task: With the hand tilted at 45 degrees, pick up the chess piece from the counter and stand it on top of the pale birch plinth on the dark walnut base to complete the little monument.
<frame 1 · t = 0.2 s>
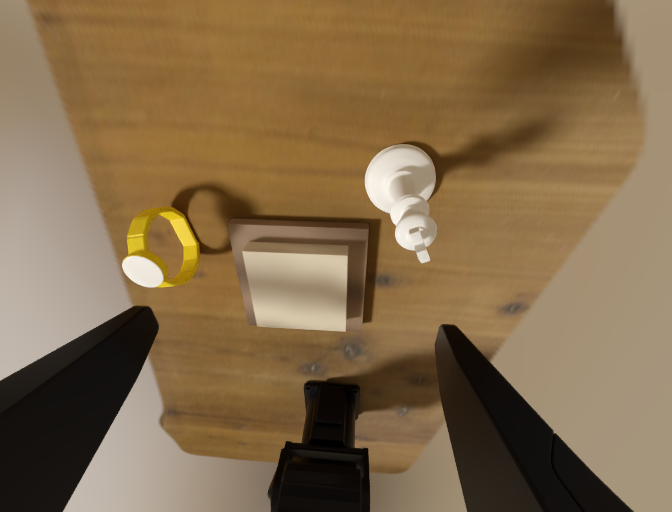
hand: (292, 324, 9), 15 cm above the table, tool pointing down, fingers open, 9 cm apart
chess piece: (399, 178, 22), on the table
watch: (186, 229, 25), on the table
build base: (303, 276, 27), on the table
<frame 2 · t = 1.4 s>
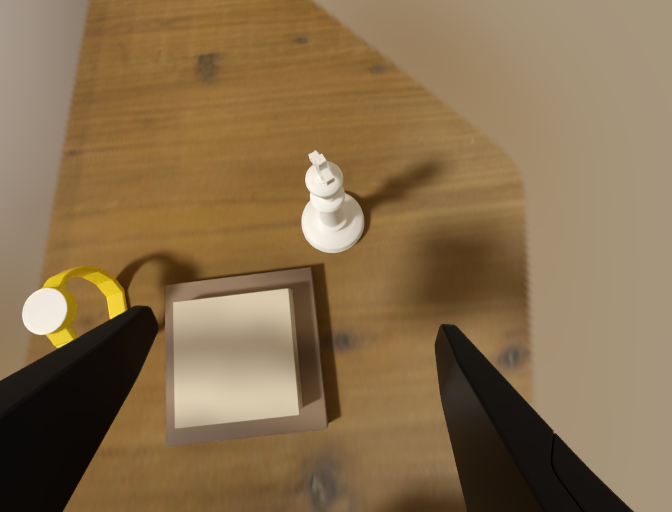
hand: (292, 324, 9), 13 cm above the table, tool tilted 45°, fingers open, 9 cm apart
chess piece: (333, 223, 24), on the table
watch: (121, 310, 23), on the table
build base: (246, 351, 22), on the table
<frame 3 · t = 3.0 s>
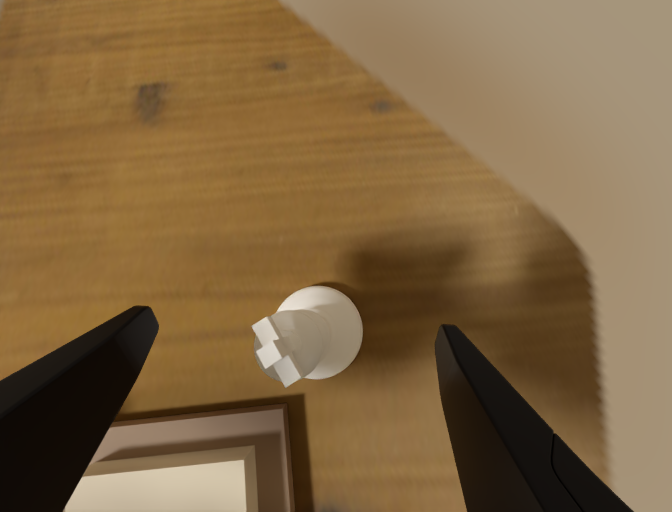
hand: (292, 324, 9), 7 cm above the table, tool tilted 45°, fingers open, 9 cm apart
chess piece: (318, 330, 17), on the table
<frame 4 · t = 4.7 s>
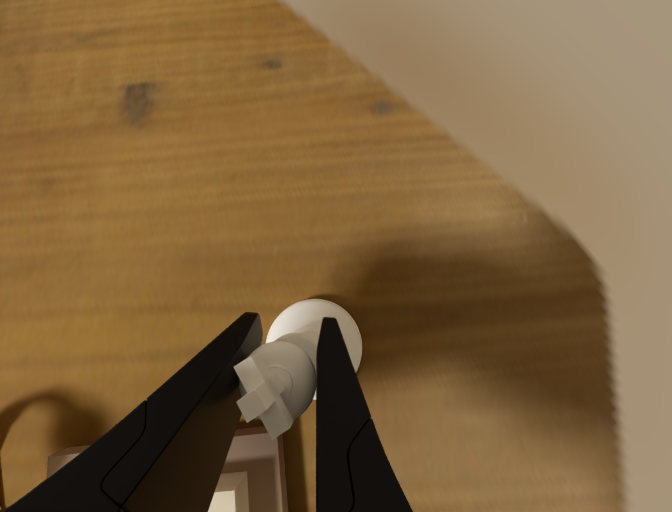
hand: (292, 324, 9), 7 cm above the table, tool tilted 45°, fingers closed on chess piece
chess piece: (314, 346, 16), on the table, touching gripper
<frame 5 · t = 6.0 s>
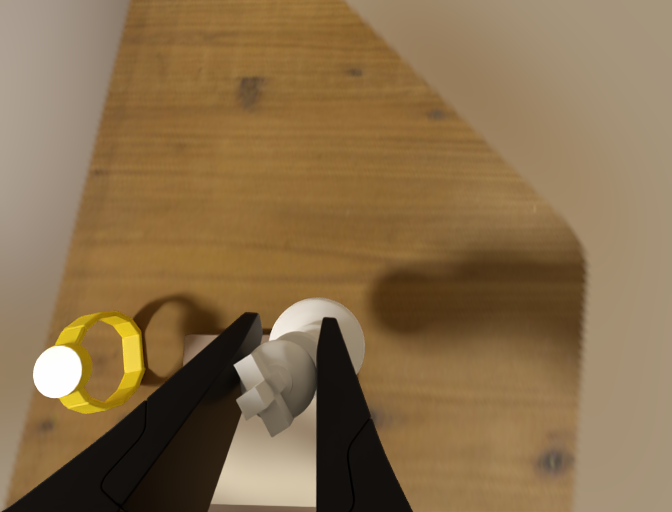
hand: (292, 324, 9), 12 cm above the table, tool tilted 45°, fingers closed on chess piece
chess piece: (317, 345, 16), point 6 cm above the table, touching gripper
watch: (136, 352, 22), on the table
build base: (264, 416, 21), on the table
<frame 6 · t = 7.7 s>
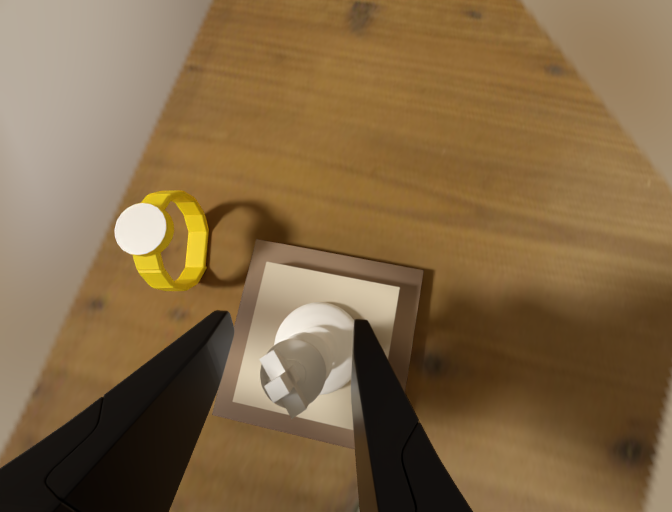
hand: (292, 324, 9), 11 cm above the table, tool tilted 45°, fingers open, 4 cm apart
chess piece: (319, 346, 17), point 2 cm above the table, touching build base
watch: (199, 250, 21), on the table
build base: (322, 339, 19), on the table
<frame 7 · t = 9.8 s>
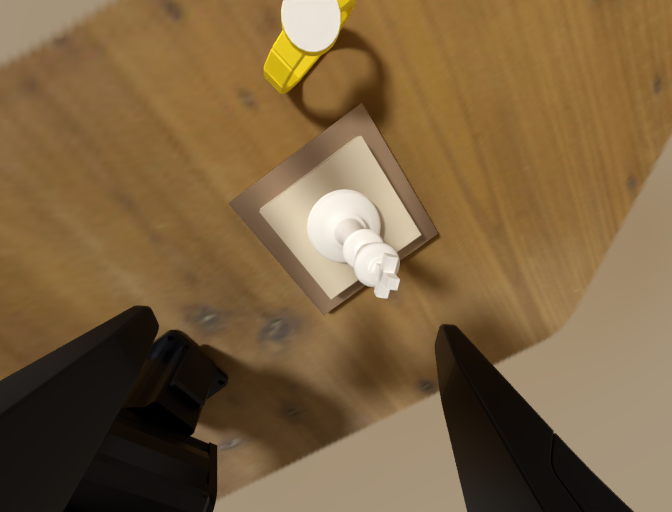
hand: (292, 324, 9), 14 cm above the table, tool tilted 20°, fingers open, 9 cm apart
chess piece: (343, 225, 20), point 2 cm above the table, touching build base
watch: (304, 57, 19), on the table
build base: (338, 217, 23), on the table
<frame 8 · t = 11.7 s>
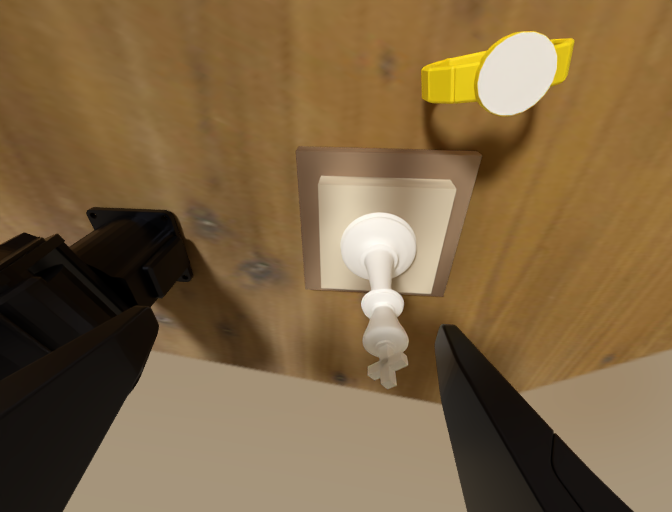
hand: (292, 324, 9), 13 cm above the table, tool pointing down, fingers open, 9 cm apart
chess piece: (377, 244, 20), point 2 cm above the table, touching build base
watch: (471, 68, 16), on the table
build base: (378, 226, 22), on the table
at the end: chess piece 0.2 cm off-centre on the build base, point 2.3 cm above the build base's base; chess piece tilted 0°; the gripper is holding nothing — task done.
